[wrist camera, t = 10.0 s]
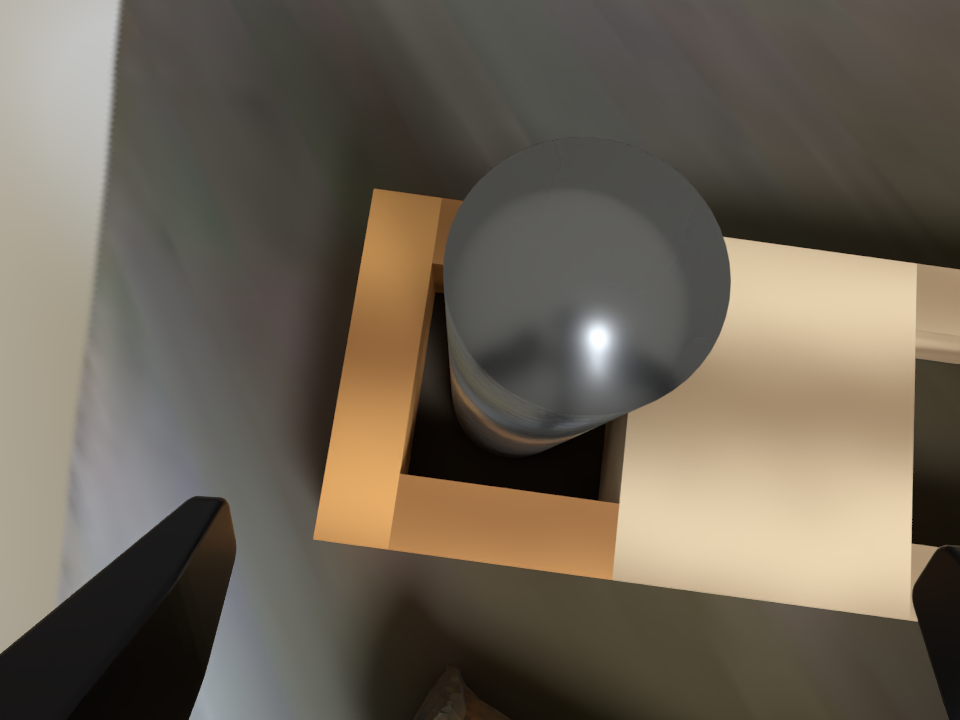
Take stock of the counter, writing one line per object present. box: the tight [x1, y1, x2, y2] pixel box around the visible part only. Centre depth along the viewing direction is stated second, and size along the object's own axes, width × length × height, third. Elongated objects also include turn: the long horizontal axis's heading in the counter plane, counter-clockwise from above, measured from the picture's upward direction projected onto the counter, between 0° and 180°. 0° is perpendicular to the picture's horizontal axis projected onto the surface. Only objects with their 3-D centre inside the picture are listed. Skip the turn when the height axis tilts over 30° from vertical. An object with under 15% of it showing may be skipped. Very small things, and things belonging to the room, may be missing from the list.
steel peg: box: [443, 137, 731, 458], centre depth 16 cm, size 4×4×13 cm
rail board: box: [313, 189, 960, 621], centre depth 21 cm, size 10×25×3 cm, turn 82°
